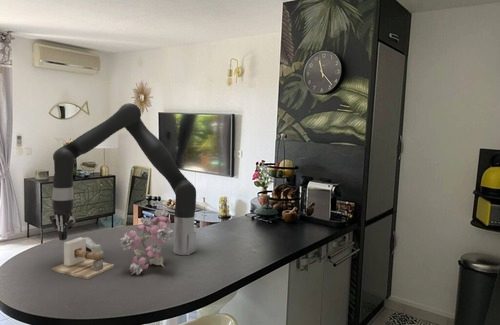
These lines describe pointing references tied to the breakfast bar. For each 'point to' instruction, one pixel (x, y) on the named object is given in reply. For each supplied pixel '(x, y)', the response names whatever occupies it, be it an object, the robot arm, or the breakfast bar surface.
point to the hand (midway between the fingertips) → (62, 239)
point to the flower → (152, 232)
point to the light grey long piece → (93, 246)
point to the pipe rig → (85, 265)
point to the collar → (69, 250)
